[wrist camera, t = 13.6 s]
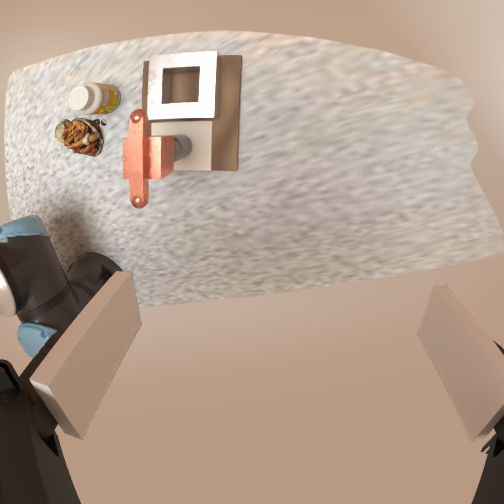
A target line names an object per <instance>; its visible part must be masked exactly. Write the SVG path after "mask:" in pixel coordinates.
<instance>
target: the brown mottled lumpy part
mask: <svg viewBox="0 0 504 504" xmlns="http://www.w3.org/2000/svg"><path fill="white" fill-rule="evenodd" d="M96 121H97V122H96ZM98 124H100V121H99V119H96V120H94V121H93V123H92V122H91V121H89V120H86V119H83V118H81V119H76V118H75V119H74V120H72V121H71V122H70V120H67V119H64V120H61V123H59V124H58V125H57V126H56V130H55V137H56V138H58V139H57V141H59V142H61V143H65V144H64V145H65V146H67V149H73V152H74V153H79V154H85V155H86V154H87V155H90V156H96V155H97V154H98V153H99V152H100V151H101V145H102V144H103V140H102V139H101V134H100V132H99V129H98V128H99V127H98ZM101 124H102V125H103V126H105V125H106V121H105V120H104V119H103V120H101Z"/></svg>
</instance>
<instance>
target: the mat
mask: <svg viewBox="0 0 504 504" xmlns="http://www.w3.org/2000/svg"><path fill="white" fill-rule="evenodd" d="M212 129H213V121H181V122H159V123H151V136H155V135H178V134H183V135H186V136H187V137H189V138H190V140H191V142H192V151H191V153H190V154H189V155H188V156H187V157H185V158H183V159H181V160H179V161H176V162H174V170H200V171H211V170H212Z"/></svg>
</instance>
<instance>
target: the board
mask: <svg viewBox="0 0 504 504" xmlns="http://www.w3.org/2000/svg"><path fill="white" fill-rule="evenodd" d="M220 57H221V58H222V63H221V84H220V108H219V118H182V119H160V120H149V121H148V136H151V123H159V122H181V121H213V129H212V170H226V171H237V159H238V131H239V106H240V83H241V62H242V56H241V55H224V56H220ZM148 76H149V61H144V68H143V88H142V109H143V110H145V111H146V112H147V101H148ZM199 87H200V72H183V73H173V79H172V104H173V103H196V102H199Z"/></svg>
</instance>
